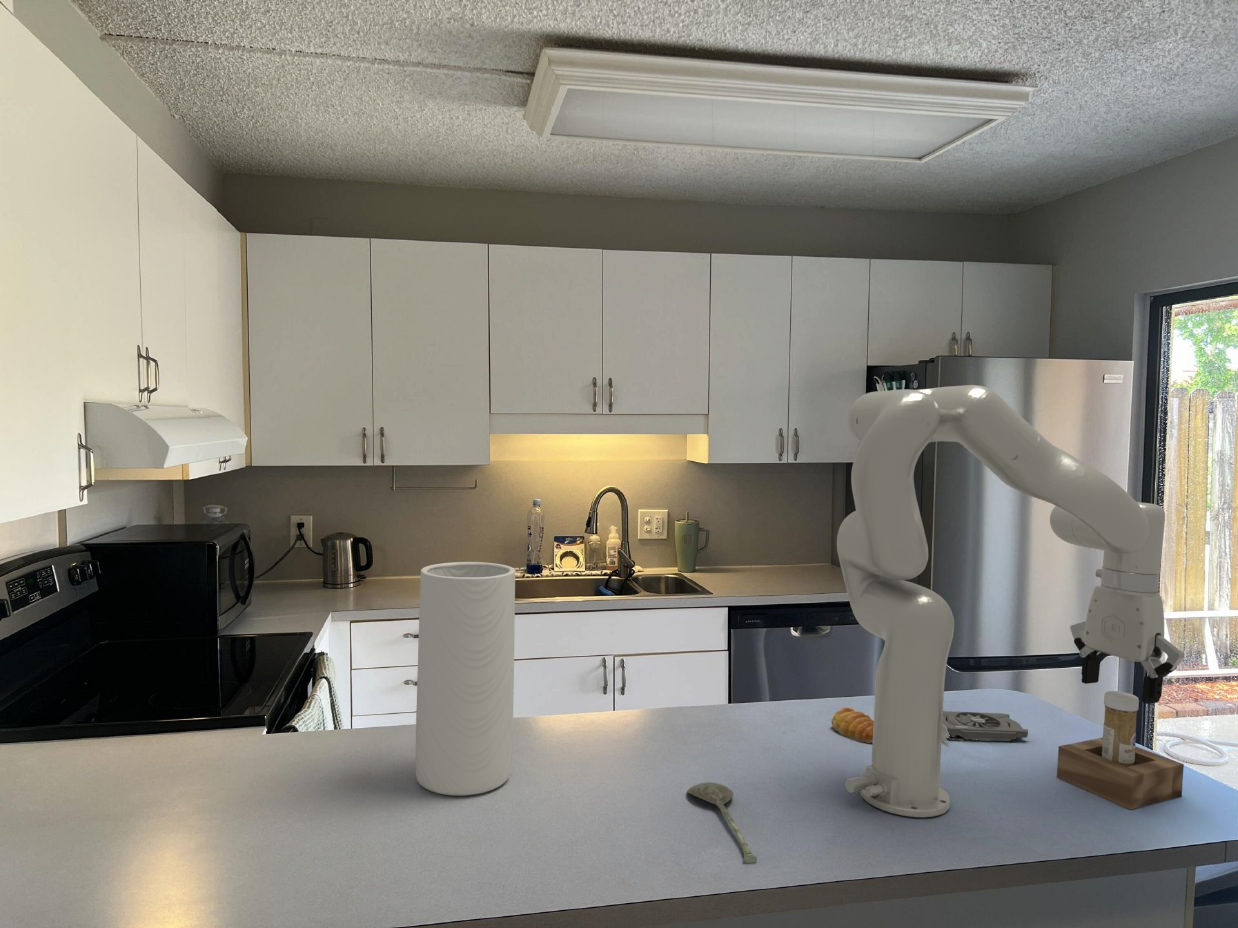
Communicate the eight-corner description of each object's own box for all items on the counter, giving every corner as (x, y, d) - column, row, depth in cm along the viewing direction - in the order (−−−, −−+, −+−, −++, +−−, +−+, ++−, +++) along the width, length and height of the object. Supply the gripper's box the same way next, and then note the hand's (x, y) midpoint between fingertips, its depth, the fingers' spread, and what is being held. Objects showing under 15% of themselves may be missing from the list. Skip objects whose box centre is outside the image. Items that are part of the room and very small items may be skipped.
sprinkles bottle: (1134, 788, 127) (1139, 701, 126) (1099, 781, 129) (1104, 695, 129) (1133, 778, 131) (1138, 693, 130) (1099, 771, 133) (1104, 687, 133)
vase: (505, 800, 119) (510, 579, 117) (404, 797, 119) (408, 576, 117) (517, 759, 133) (522, 562, 132) (426, 757, 133) (430, 560, 131)
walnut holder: (1130, 809, 122) (1132, 775, 122) (1056, 777, 133) (1058, 746, 133) (1181, 796, 127) (1183, 763, 127) (1106, 766, 138) (1108, 736, 138)
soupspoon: (725, 793, 126) (682, 797, 125) (725, 771, 126) (682, 774, 125) (774, 865, 104) (723, 869, 103) (774, 838, 104) (723, 842, 103)
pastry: (892, 742, 146) (892, 721, 146) (861, 748, 143) (862, 726, 143) (855, 724, 155) (856, 704, 154) (826, 729, 152) (827, 708, 152)
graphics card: (942, 729, 144) (917, 704, 156) (941, 751, 145) (915, 724, 156) (1039, 733, 144) (1006, 708, 156) (1038, 754, 145) (1005, 727, 157)
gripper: (1062, 572, 135) (1052, 677, 135) (1171, 594, 119) (1160, 713, 120) (1093, 571, 138) (1083, 674, 139) (1203, 593, 122) (1192, 708, 123)
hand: (1119, 692), depth 129 cm, fingers open, 9 cm apart
